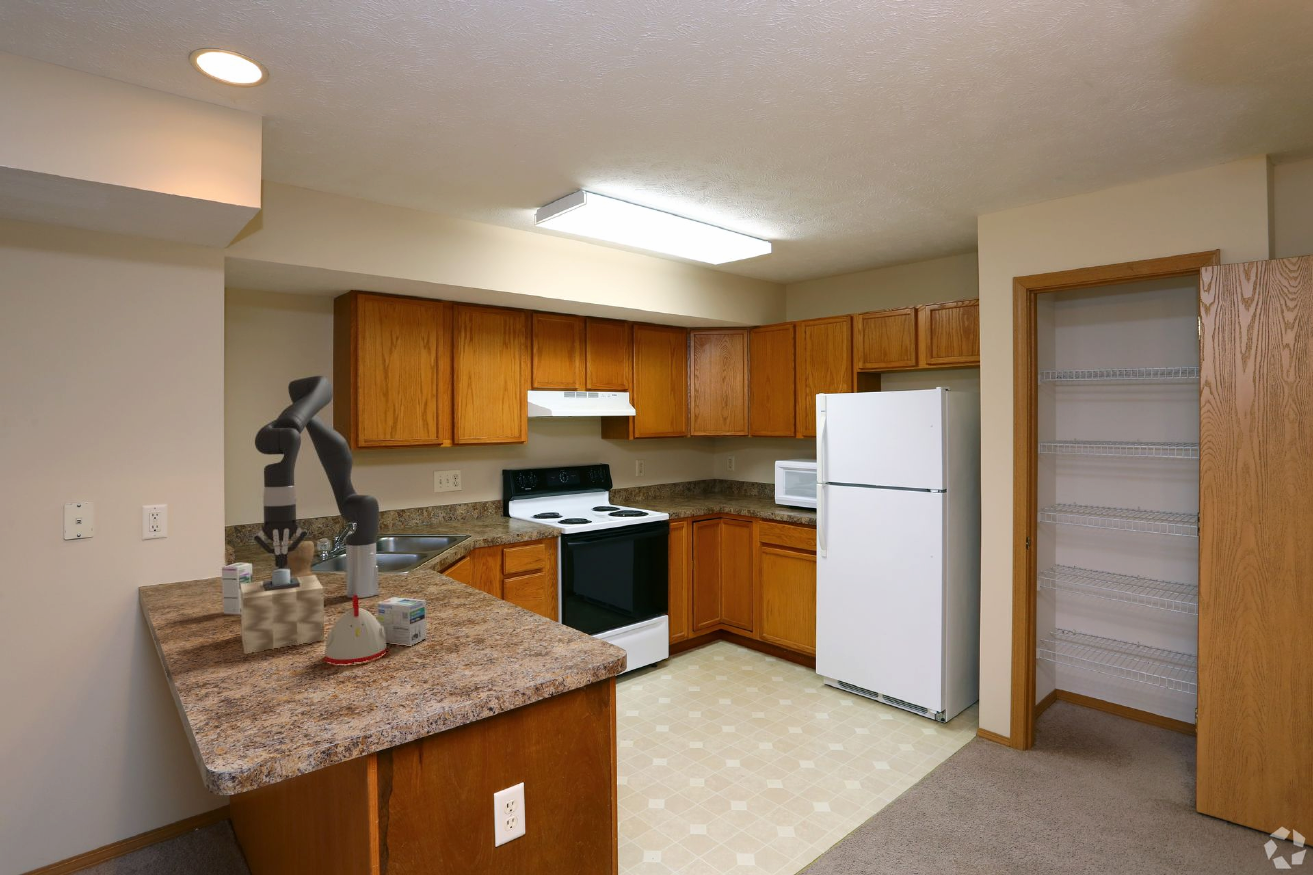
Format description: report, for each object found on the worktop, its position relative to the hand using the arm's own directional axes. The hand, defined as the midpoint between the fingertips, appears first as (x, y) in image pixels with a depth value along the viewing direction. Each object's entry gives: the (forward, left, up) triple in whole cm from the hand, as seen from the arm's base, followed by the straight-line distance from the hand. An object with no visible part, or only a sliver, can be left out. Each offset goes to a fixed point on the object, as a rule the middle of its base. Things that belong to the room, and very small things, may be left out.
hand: (281, 567), depth 181 cm
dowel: (0, 0, -13) cm, 13 cm away
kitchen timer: (-14, +26, -19) cm, 35 cm away
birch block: (0, 0, -19) cm, 19 cm away
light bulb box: (-26, +21, -19) cm, 38 cm away
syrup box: (+9, -36, -19) cm, 42 cm away
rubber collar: (0, 0, -5) cm, 5 cm away
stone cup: (-9, -70, -19) cm, 73 cm away
